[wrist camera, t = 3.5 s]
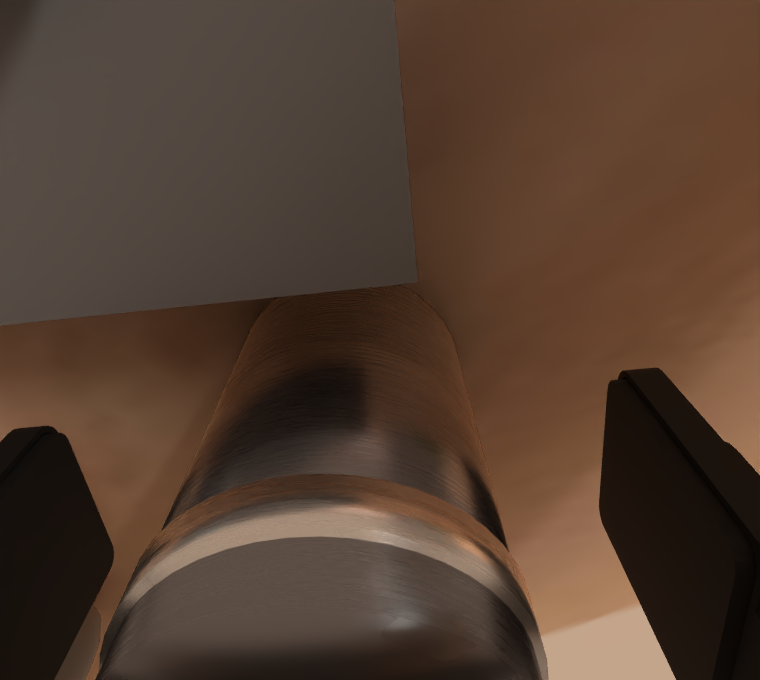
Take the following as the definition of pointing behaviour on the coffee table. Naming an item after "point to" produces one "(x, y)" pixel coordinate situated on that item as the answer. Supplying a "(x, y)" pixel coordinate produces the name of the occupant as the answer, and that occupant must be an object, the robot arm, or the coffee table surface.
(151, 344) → the coffee table surface
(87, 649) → the newton's cradle
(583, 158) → the coffee table surface
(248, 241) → the camera body
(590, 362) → the coffee table surface
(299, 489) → the lens
